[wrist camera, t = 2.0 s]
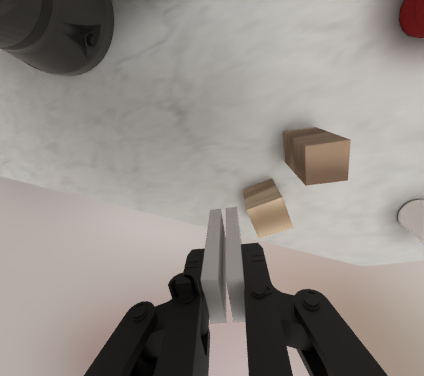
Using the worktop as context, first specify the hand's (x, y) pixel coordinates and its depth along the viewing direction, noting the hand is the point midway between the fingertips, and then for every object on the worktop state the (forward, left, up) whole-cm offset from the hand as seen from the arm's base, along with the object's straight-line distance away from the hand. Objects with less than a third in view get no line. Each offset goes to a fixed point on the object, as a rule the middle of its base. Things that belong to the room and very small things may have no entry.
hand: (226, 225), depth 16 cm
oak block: (+8, +5, -21) cm, 23 cm away
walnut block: (0, +11, -20) cm, 23 cm away
